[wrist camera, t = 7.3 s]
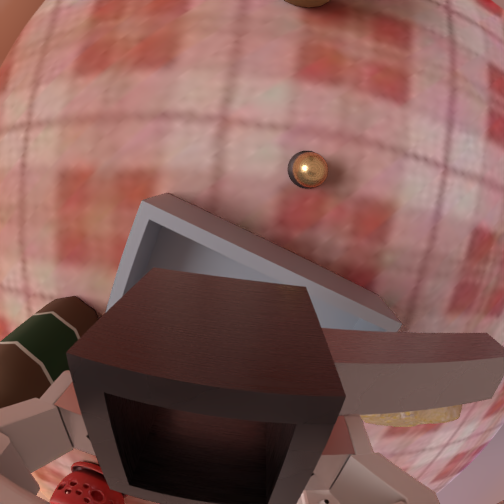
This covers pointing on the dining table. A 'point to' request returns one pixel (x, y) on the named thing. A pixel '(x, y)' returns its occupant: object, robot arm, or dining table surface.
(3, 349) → the beer bottle
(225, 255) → the bin
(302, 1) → the squeeze bottle
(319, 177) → the ball stud
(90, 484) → the plant pot
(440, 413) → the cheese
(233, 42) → the dining table surface
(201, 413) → the square brown scoop
